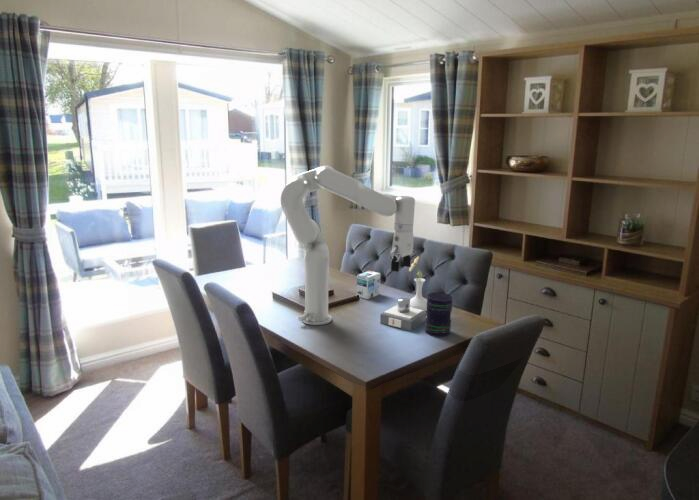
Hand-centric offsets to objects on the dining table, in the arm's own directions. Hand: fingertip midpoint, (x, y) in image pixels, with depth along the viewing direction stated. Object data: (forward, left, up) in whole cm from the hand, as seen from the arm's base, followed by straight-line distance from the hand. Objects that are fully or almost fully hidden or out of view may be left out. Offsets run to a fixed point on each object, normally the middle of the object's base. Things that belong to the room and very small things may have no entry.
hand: (400, 268), depth 215 cm
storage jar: (-1, -18, -23) cm, 29 cm away
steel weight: (0, -2, -18) cm, 18 cm away
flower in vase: (+17, 0, -23) cm, 29 cm away
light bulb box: (+21, +28, -23) cm, 42 cm away
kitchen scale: (0, -2, -23) cm, 23 cm away
